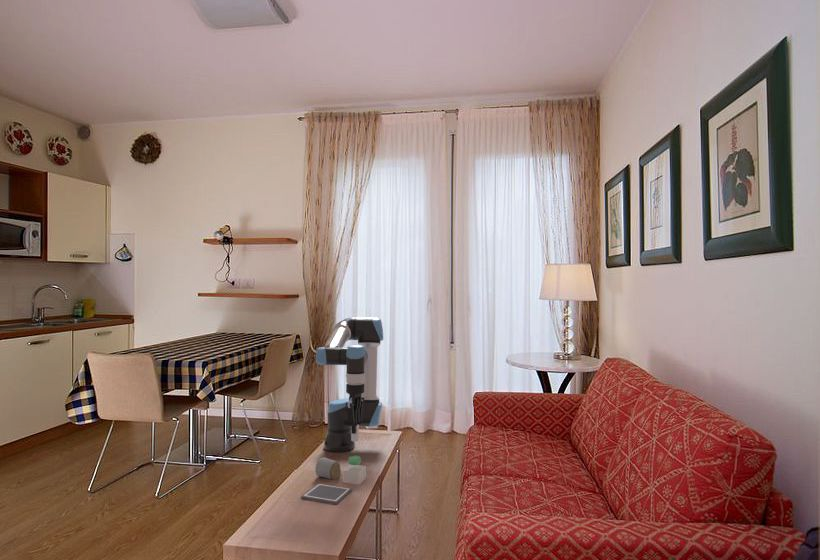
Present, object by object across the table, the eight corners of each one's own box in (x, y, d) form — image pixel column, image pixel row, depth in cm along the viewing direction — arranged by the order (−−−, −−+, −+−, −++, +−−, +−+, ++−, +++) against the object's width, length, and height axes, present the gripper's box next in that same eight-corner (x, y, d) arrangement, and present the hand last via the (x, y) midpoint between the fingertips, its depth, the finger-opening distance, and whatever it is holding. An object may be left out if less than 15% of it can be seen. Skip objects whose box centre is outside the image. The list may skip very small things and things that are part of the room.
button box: (350, 476, 204) (350, 464, 204) (365, 478, 202) (366, 466, 202) (343, 482, 197) (343, 470, 197) (358, 484, 195) (358, 472, 195)
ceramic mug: (330, 482, 197) (331, 463, 198) (314, 478, 201) (315, 460, 201) (345, 474, 207) (345, 455, 207) (329, 470, 210) (330, 452, 211)
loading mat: (318, 485, 194) (318, 483, 194) (352, 490, 189) (352, 488, 189) (300, 498, 182) (301, 496, 182) (336, 504, 177) (336, 502, 177)
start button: (351, 460, 203) (351, 455, 203) (362, 461, 201) (362, 456, 201) (346, 464, 198) (346, 459, 198) (357, 465, 196) (357, 460, 196)
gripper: (353, 379, 208) (353, 435, 207) (339, 385, 195) (339, 444, 195) (370, 381, 205) (369, 437, 205) (356, 386, 193) (356, 446, 192)
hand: (354, 440), depth 200 cm, fingers closed
